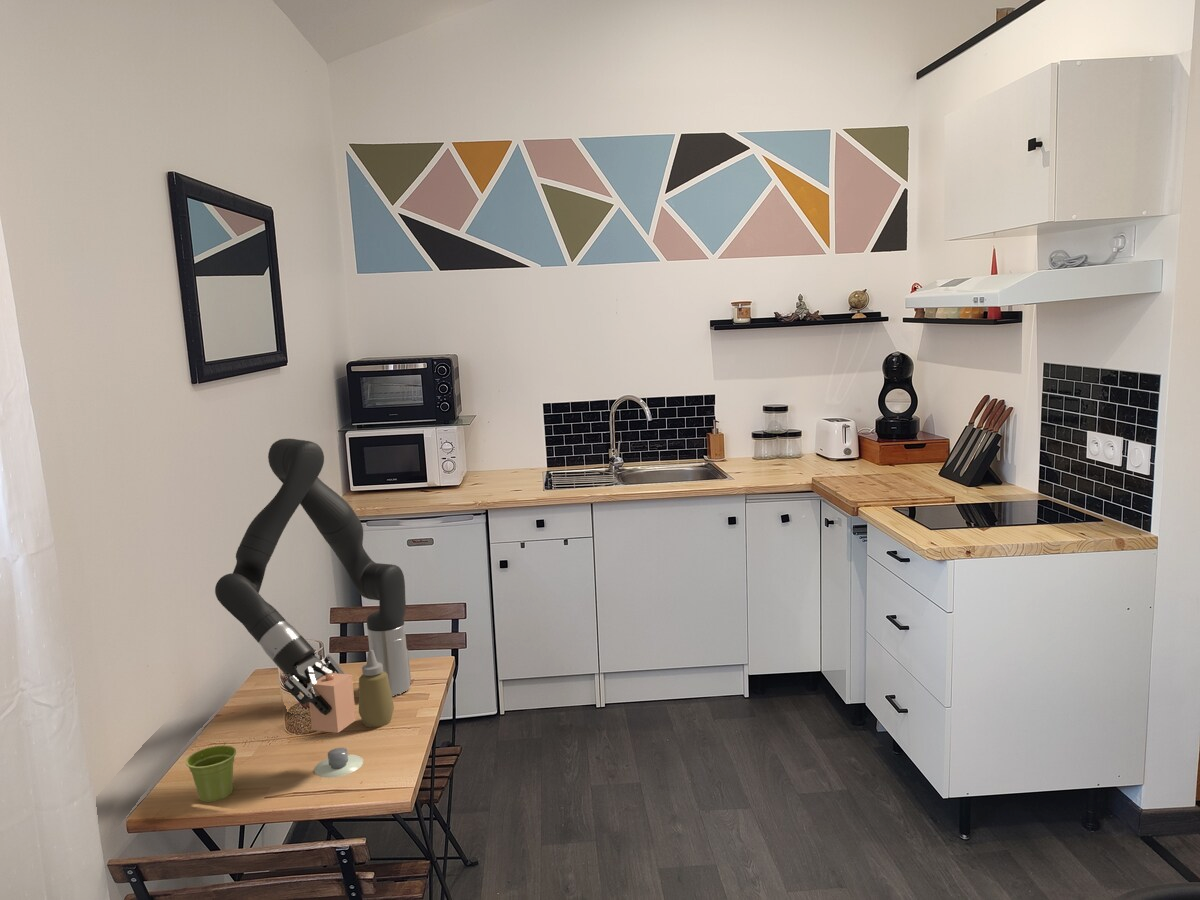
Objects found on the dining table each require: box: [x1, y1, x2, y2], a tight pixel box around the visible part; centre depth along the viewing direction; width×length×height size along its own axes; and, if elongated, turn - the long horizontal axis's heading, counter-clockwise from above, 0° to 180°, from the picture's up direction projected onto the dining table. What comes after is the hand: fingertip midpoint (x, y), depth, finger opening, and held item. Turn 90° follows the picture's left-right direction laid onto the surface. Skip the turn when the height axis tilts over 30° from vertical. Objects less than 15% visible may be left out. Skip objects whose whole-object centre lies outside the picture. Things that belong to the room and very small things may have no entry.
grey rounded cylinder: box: [327, 747, 348, 769], centre depth 191 cm, size 4×4×3 cm
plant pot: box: [185, 745, 237, 803], centre depth 182 cm, size 9×9×9 cm
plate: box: [313, 754, 364, 778], centre depth 191 cm, size 10×10×1 cm
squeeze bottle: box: [358, 650, 395, 729], centre depth 211 cm, size 8×8×18 cm
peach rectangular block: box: [307, 672, 357, 734], centre depth 189 cm, size 6×6×11 cm
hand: (339, 705), depth 189 cm, fingers closed on peach rectangular block, 6 cm apart
